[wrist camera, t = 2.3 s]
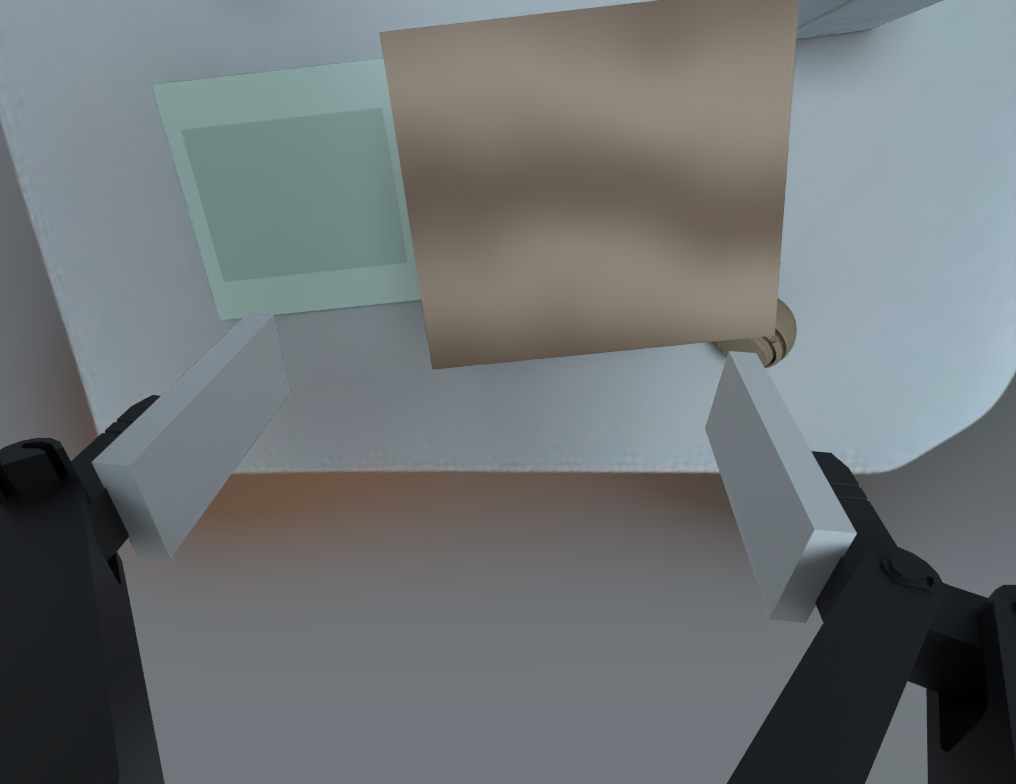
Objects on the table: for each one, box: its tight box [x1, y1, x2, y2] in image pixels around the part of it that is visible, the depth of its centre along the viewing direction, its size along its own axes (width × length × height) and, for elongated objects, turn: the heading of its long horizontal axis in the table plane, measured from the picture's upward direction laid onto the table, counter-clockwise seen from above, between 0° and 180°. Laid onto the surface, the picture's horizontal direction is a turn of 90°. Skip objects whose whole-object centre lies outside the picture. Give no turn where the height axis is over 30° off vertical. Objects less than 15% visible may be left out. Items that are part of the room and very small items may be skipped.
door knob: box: [715, 298, 797, 368], centre depth 37 cm, size 5×5×5 cm
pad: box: [152, 58, 421, 320], centre depth 35 cm, size 14×14×1 cm
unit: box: [380, 0, 799, 369], centre depth 28 cm, size 13×14×16 cm
